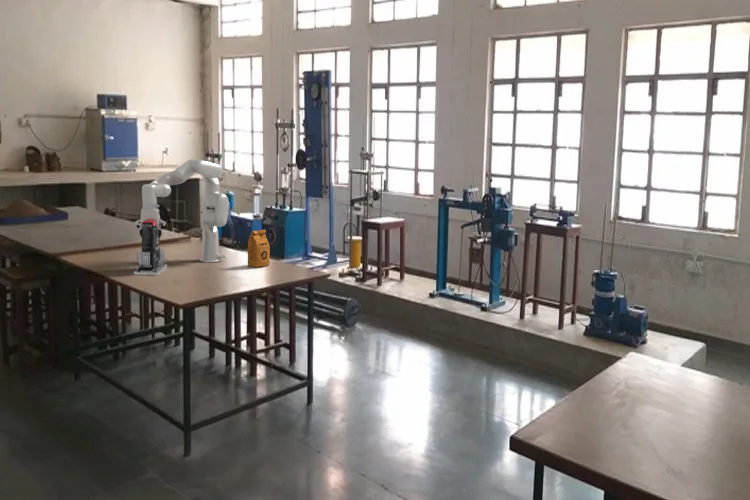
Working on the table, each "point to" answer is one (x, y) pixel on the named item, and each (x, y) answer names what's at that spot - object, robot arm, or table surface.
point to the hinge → (139, 257)
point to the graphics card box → (150, 245)
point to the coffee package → (258, 249)
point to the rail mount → (150, 270)
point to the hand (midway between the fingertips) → (150, 236)
